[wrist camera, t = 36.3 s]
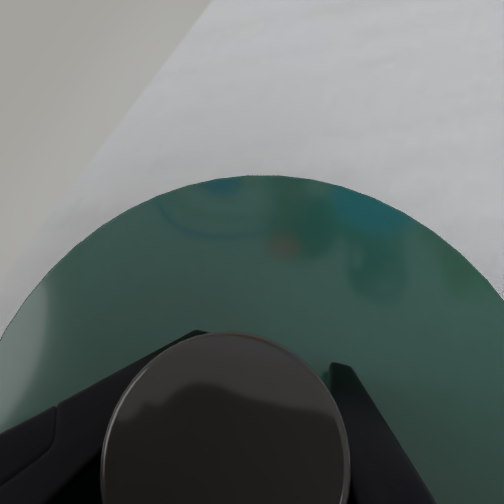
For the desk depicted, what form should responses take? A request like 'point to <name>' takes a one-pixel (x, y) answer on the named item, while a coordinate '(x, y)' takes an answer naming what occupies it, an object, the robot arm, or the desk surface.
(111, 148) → the desk surface
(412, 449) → the lid
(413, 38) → the desk surface
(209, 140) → the desk surface
